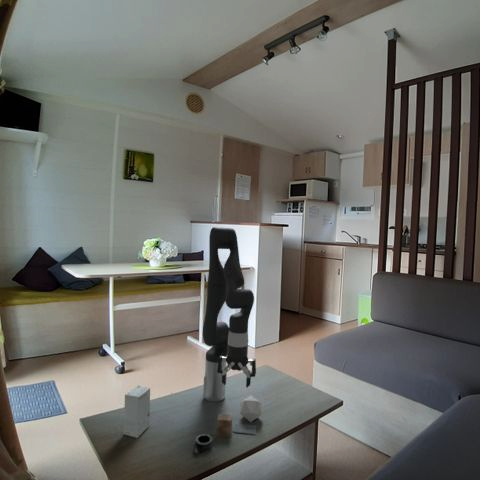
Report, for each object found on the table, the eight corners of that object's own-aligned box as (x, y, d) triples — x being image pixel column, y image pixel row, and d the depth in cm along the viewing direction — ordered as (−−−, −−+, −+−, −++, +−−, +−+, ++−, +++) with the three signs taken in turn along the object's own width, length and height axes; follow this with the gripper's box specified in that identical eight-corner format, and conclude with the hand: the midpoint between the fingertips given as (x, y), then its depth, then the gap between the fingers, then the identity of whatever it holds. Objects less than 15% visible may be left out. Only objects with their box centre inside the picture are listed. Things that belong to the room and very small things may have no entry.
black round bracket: (221, 449, 120) (221, 441, 120) (194, 458, 115) (194, 449, 115) (212, 437, 127) (212, 429, 126) (186, 444, 122) (186, 436, 122)
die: (265, 423, 137) (265, 396, 143) (253, 420, 131) (253, 392, 137) (247, 424, 142) (248, 397, 147) (235, 421, 136) (236, 393, 141)
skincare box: (137, 438, 123) (138, 397, 123) (122, 434, 125) (123, 394, 124) (150, 425, 131) (151, 387, 130) (136, 422, 133) (137, 384, 132)
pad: (233, 432, 129) (233, 431, 129) (235, 424, 134) (235, 423, 134) (255, 434, 129) (255, 433, 129) (256, 426, 134) (256, 425, 134)
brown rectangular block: (216, 435, 127) (217, 419, 127) (218, 428, 131) (219, 413, 131) (230, 436, 127) (231, 420, 127) (231, 430, 131) (232, 414, 131)
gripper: (216, 344, 126) (215, 387, 127) (255, 348, 124) (253, 392, 125) (221, 337, 134) (219, 378, 135) (258, 341, 132) (256, 382, 133)
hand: (236, 385), depth 130 cm, fingers open, 8 cm apart
